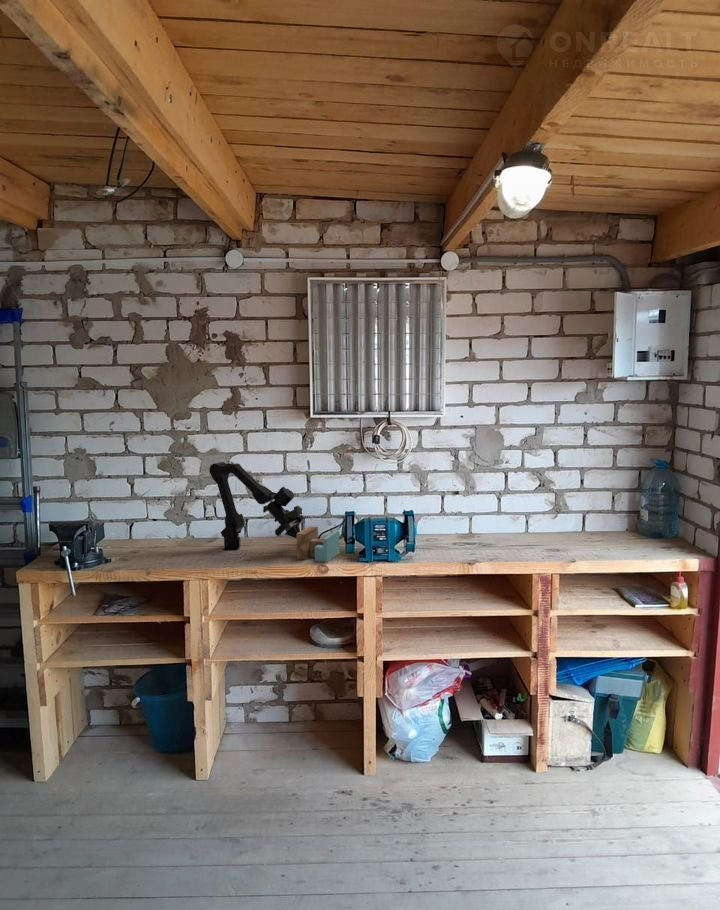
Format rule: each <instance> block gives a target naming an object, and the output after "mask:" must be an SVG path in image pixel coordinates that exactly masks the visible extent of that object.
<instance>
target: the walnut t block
mask: <svg viewBox="0 0 720 910" xmlns="http://www.w3.org/2000/svg"><path fill="white" fill-rule="evenodd" d="M317 545H323V538H319V528H318V526H309V525H308V526H307V527H305V528H304V529H302V530H300V532H299V533H297V539H296V559H297V560H305V561H306V560H308V559H310V558H315V547H316V546H317Z"/></svg>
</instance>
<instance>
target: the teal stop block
mask: <svg viewBox="0 0 720 910" xmlns="http://www.w3.org/2000/svg"><path fill="white" fill-rule="evenodd" d="M322 539H323V545H317V546H316V547H315V557H314V562H319V563H320V562H322V563H328V562H329V561H331V560H332V559H334V558H335V557H336V556H337V555H339V554H340V552H341V551H340V530H339V529H337V530H334V531H333V532H331V533H329V534H328V535H326V536H325V537H323V538H322Z"/></svg>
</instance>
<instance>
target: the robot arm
mask: <svg viewBox="0 0 720 910" xmlns="http://www.w3.org/2000/svg"><path fill="white" fill-rule="evenodd" d="M208 471H209V474H210V477H211V478H212V479H213V481H214V482H215V484H216V486H217V488H218V491H219V495H220V499H221V502H222V506H223V510H224V513H225V516H224V517H225V518H224V525H225V527H224V528H223V529H222V530H221V531H220V535H221V537H222V538H223V546H224V548H223V550H224V551H238V550H239V549H240V548H241V544H242V543H241V540H242V539H241V537H240V534H241V533H242V530H243V529H244V527H245V522H246V520H245V519H244V515H243V514H242V513H239V512H238V510H237V508H236V505H235V501H234V497H233V494H232V491H231V486H230V484H229V475H230V474H233V476H234V477H235V478H237V479H238V481H240V482H241V483H242V484H243V485H244V486H245V487H246V488H247V489H248V490H249V491H250V492H251V494H252V498H254V500H255V501H256V502H257V504H259V505H264V506H263V510H262V512H263V514H264V513H266V512H269V514H270V515H271V516H272V517H273V518H274V520H273V521H274V522H275V523H278V524H279V526H278V527H277V528H276V529H275V530H274V535H275V536H276V537H277V538H279V537H280V536H281V535H282V534H283V533H284V532H285V533H284V535H286V536H289V537H290V538H291V537H292V538H294V539H296V540H297V533H299V532H300V531H301V529H300V524H301V523H302V522H303V521H304V520H305V517H304V516H303V508H302V507H301V506H299V505H296V506H294V507H293V509H292V510H289V509H285V508H284V507H287V505H288V504H290V502H291V501H293V499H294V498H295V494H294V492H293V491H292V490H290V489H289V488H287V487H285V486H281V487H280V489H279V490H278V491H277V492H274V491H272V490H271V489H269V488H268V487H267V486H265V485H263V484H260V483H259V482H258V481H257V480H256V479H254V477H252V475H250V473H248V472H247V471H246V470H245V468H243V467H242V465H241V464H240V463H239V462H238V463H226V462H225V461H219V462H216V463H212V464H211V465H210V466H209V468H208ZM267 503H268V504H267ZM266 504H267V505H266Z"/></svg>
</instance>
